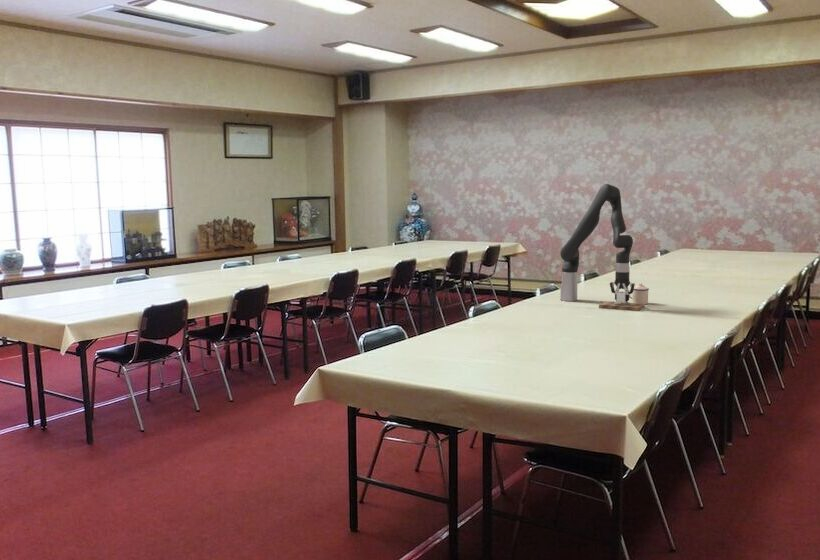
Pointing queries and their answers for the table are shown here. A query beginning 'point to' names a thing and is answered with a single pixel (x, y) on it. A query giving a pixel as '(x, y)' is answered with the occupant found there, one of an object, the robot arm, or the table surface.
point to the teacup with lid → (640, 294)
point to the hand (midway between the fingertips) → (621, 300)
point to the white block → (621, 297)
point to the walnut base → (622, 306)
